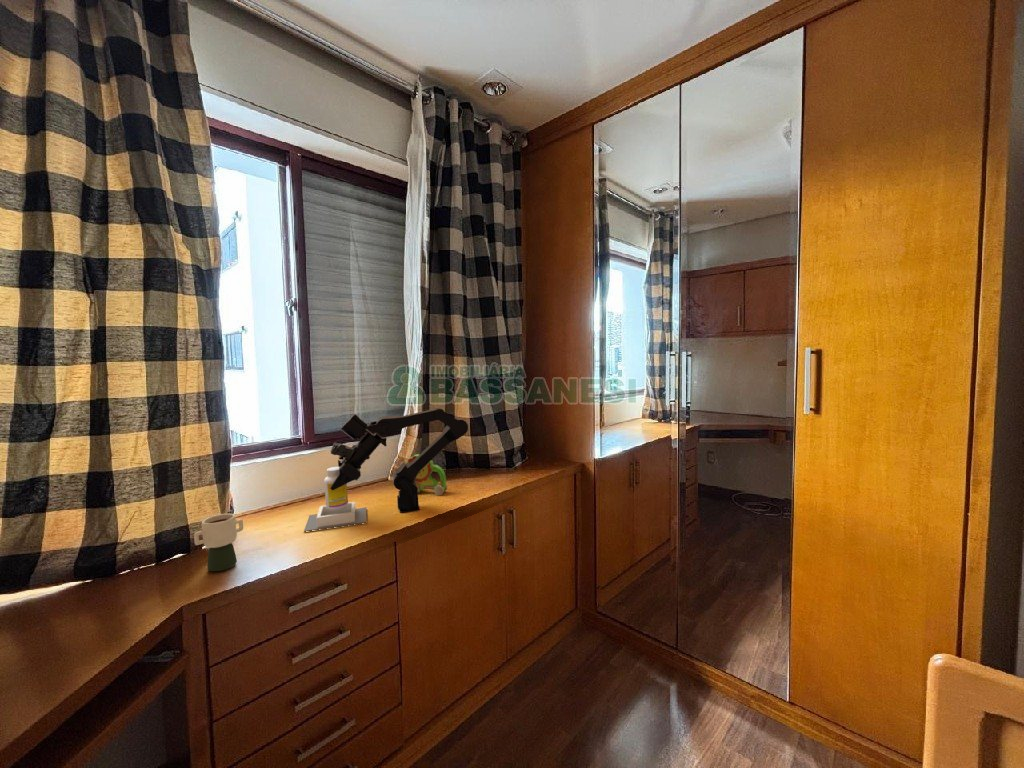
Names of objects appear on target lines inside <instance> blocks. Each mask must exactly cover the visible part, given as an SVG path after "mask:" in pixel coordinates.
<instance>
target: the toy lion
mask: <svg viewBox="0 0 1024 768" xmlns="http://www.w3.org/2000/svg"><path fill="white" fill-rule="evenodd" d="M420 454H421V453H420ZM420 454H419V453H417V454H414V455H413V456H411V457H409V458H408V460H407V461H406V463H405V464H408V463H410V462H412V461H413V460H414V459H415V458H416V457H417V456H418V455H420ZM433 472H436V473H437V474H438V475H439V479H440V482H438V481H437V479H435V478H433V477H432V473H433ZM446 476H447V475H446V473H445V471H444V469H443V467H441V466H440V465H438V464H434V461H433V459H432V460H431V461H430V462H429V463H428V464H427V465H426V466H425V467H424V468H423V469H421V470H420V472H419V473H418V475H417V476H416V478H415V480H414V481H415V482H416V485H417V487H418V494H419V493H420V492H421V491H425V490H431V491H433V493H434V494H435V496H441V495H443V494H444V493H445V492H446V491H447V490H448V484H447V477H446Z"/></svg>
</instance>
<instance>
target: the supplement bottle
mask: <svg viewBox="0 0 1024 768" xmlns="http://www.w3.org/2000/svg"><path fill="white" fill-rule="evenodd" d="M326 474H327V476H326V477H325V478H324V480H323V482H324V483H323V484H324V496H325V497H324V498H325V506H326V508H327V509H328V510H339V509H342V508H345V507H346V506H347V505H348V502H349V499H348V498H349V497H348V487H347V485H348V483H347V484H345V485H343V486H341V487H339V488H337V489H335V490H331V489H330V488H331V486H332V484H333V483H334V481H335V480H336V478H337V477H338V475H339V467H338V466H332V467H329V468H327V469H326Z"/></svg>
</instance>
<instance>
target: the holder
mask: <svg viewBox="0 0 1024 768" xmlns="http://www.w3.org/2000/svg"><path fill="white" fill-rule="evenodd" d="M318 508H319V509H318V512H317V513H315V514H309V516H308V519H307V521H306V525H305V528H304V530H303V532H306V531H312V530H319V529H327V528H333V529H335V528H334V527H340V528H343V527H342V526H347V527H349V526H348V525H353V526H355V525H354V524H360V525H363V524H362V523H366V521H367V507H358V508H357V507H356V502H355V501H348V505H347V506H346V507H345V508H342V509H339V510H328V509H327V508H326V505H320V506H319V507H318ZM327 530H328V529H327Z"/></svg>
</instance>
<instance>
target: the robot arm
mask: <svg viewBox="0 0 1024 768" xmlns="http://www.w3.org/2000/svg"><path fill="white" fill-rule="evenodd" d="M435 421H440V422H441V423H443V424H445V425H446V426H445V427H444V428H443V431H442V432H441V434H440V435H439V436H437V438H436V439H435V440H434V441H432V443H430V444H429V445H428V446H427V447H426V448H425V449H424V450H423V451H422V452H421V453H420V455H418V456H417V457H416V458H415V459H414V460H413V461H412V462H410V463H408V464H406V463H405V461H403V462H402V463H401V464H400V465H399V467H397V468H395V469H394V472H393V474H392V483H393V486H394V487H395V489H396V490H398V495H397V496H396V497H397V498H396V501H397V502H396V503H397V505H396V506H397V509H398V510H399V513H409V512H415V511H420V509H421V508H420V506H419V505H420V504H419V493H418V487H417V485H416V482H415V481H414V480H415V478H416V476H417V475H418V473H419V472H420V470H421V469H423V468H424V467H425V466H426V465H427V464H428V463H429V462H430V461H431V460H432V461H433V459H434V458H436V456H438V454H439V453H441V452H442V451H443V450H444V449H445V448H446V447H447V446H449V444H451V443H452V442H453V443H454V442H455V441H456V440H459V439H460V438H462V437H463V436H465V435H466V434H467V433H468V431H469V425H468V423H467V422H466V420H464V419H462V418H461V417H454V416H452V415H451V414H449V413H447V411H445V410H444V409H442V408H441V407H436V408H432V409H428V410H424V411H420V412H415V413H409V414H405V415H390V416H389V415H387V416H386V415H385V416H381V417H379V418H377V420H375V421H369V422H365V421H364V420H363V419H362V418H360V417H359V415H358V414H357V413H354V414H353V415H352V416H351V417H350V418H348V419H347V420H346V421H345V423H343V425H342V426H341V427H340V429H339V430H340V431H341V432H343V433H344V434H345V435H347V436H348V437H350V438H351V439H352V440H359V441H358V442H357V443H356V444H353V445H352V446H349V445H346V444H342V443H338V442H333V444H332V446H331V449H330V454H331V455H333V456H338V459H337V463H338V464H337V465H338V466H337V467H339V475H338V477H337V478H336V480H335V481H334V483H333V484H332V486H331V488H330V489H331V490H335V489H337V488H339V487H341V486H343V485H345V484H347V485H348V484H349V483H351V482H352V481H358V479H360V477H361V475H362V474H361V473H362V472H361V469H362V465H363V464H364V463H365V462H366V461H367V460H370V458H371V455H372V454H373V453H374V452H375V450H376V449H377V448H379V446H380V445H382V446H383V447H387V439H388V438H387V437H386V436H389V435H391V434H394V433H397V432H399V431H400V430H403V429H404V428H407V427H409V428H410V427H413V426H417V425H422V424H425V423H430V422H435ZM384 436H385V437H384Z"/></svg>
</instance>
